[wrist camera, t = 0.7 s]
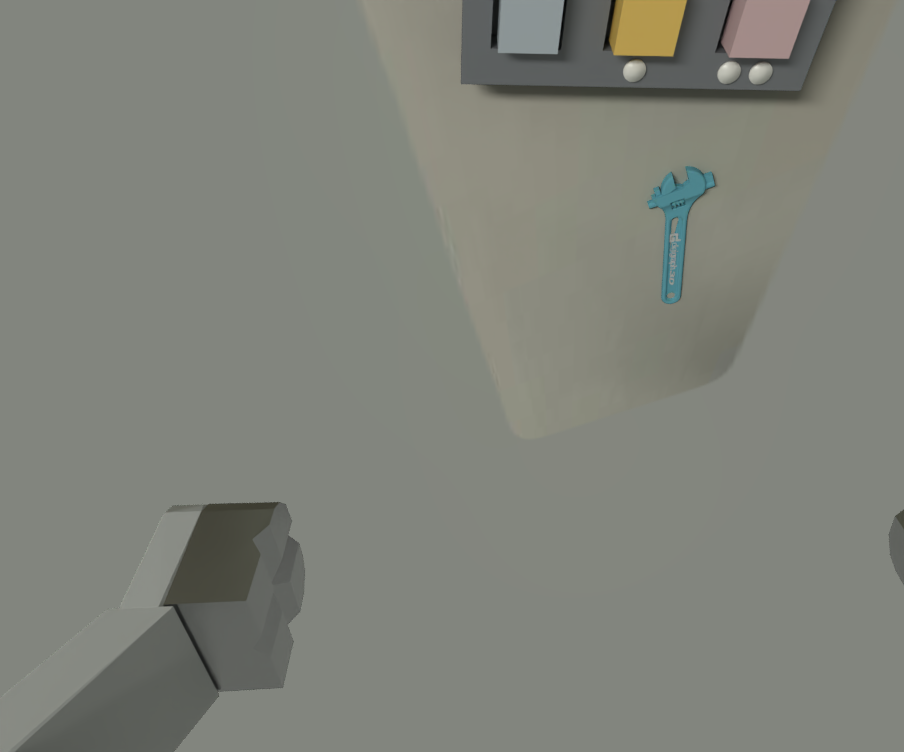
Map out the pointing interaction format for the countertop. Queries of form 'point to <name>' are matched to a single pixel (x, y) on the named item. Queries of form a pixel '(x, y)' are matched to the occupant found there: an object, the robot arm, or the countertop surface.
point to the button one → (646, 27)
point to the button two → (763, 28)
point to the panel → (595, 65)
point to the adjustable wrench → (664, 200)
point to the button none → (529, 26)
